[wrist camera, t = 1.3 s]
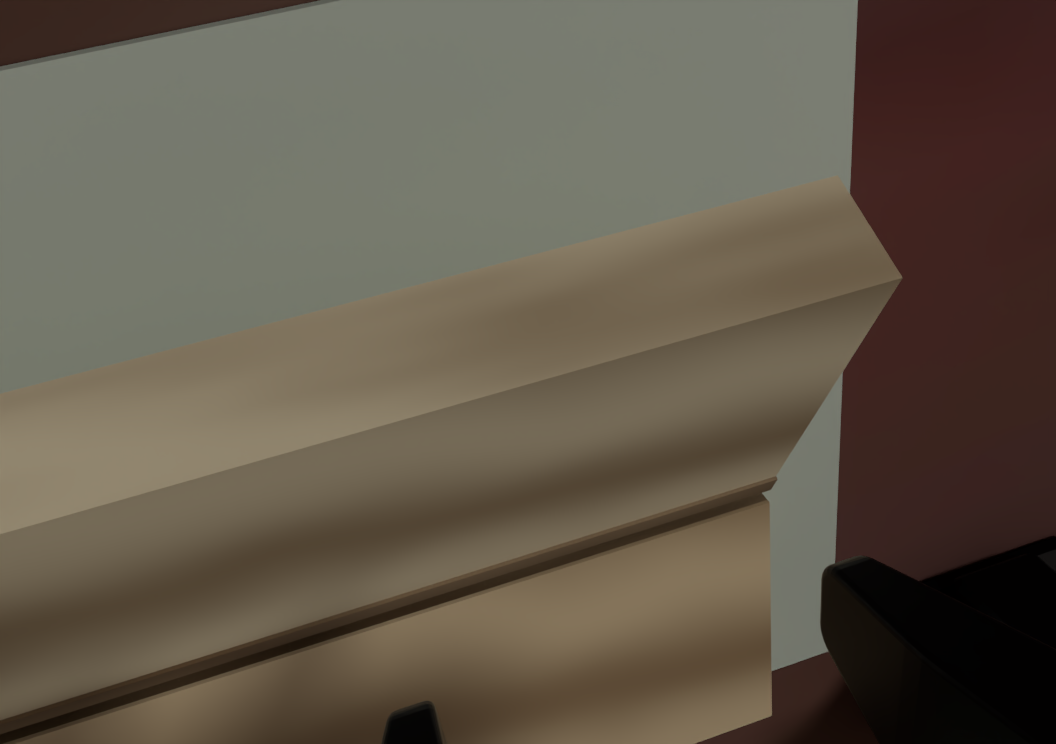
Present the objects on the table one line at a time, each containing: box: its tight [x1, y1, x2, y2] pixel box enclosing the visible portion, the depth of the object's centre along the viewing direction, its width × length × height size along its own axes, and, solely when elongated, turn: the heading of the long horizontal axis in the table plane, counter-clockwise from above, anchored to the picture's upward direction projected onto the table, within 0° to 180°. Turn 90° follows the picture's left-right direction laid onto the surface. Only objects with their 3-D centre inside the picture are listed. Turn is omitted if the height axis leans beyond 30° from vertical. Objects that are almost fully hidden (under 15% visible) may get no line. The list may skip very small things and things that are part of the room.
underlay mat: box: [0, 0, 858, 671], centre depth 20 cm, size 20×30×1 cm, turn 99°
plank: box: [0, 175, 902, 734], centre depth 15 cm, size 8×24×2 cm
